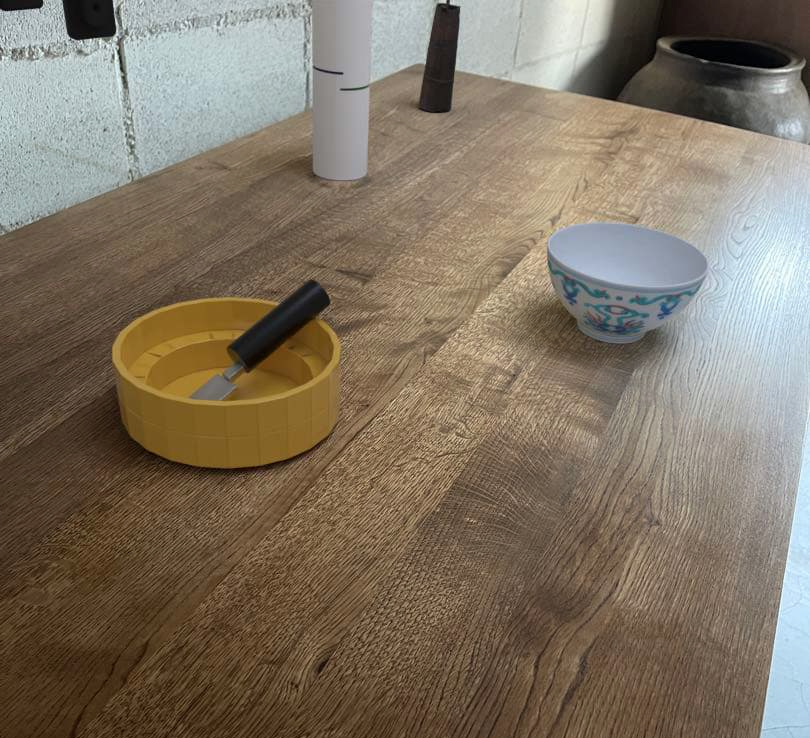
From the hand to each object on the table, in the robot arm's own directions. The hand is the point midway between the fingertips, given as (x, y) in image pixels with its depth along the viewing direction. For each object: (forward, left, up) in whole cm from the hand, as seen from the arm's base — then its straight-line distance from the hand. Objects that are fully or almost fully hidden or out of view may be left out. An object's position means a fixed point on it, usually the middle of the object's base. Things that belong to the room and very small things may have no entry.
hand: (55, 22), depth 62 cm
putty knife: (+12, +6, -23) cm, 26 cm away
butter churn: (-42, +82, -26) cm, 96 cm away
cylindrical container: (-28, +50, -26) cm, 63 cm away
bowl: (+12, +4, -26) cm, 29 cm away
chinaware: (+22, +42, -26) cm, 54 cm away
